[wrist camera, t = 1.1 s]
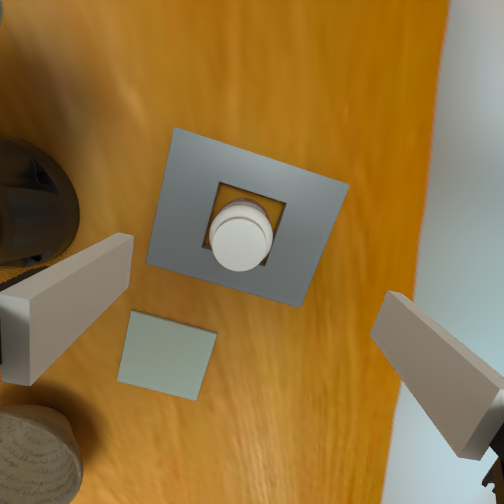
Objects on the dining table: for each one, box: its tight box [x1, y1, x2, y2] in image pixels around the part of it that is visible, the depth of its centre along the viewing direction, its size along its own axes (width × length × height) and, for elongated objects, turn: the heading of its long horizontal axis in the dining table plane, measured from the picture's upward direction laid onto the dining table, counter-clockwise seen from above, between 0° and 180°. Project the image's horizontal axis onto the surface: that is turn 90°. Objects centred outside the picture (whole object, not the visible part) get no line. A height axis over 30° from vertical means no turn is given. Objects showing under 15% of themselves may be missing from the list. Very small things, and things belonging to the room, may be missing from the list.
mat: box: [117, 310, 217, 401], centre depth 39 cm, size 12×12×1 cm
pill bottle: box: [209, 198, 273, 272], centre depth 28 cm, size 6×6×11 cm
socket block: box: [145, 127, 350, 308], centre depth 33 cm, size 20×16×2 cm
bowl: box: [0, 404, 83, 504], centre depth 39 cm, size 18×18×8 cm
